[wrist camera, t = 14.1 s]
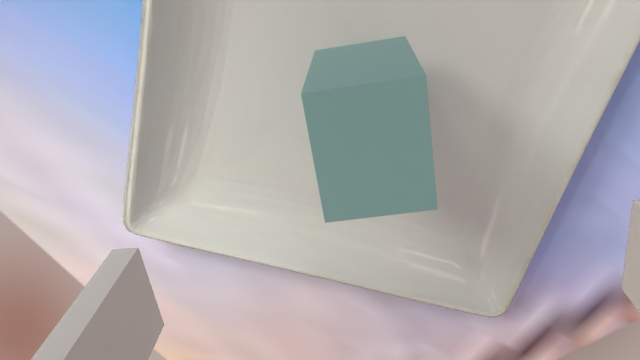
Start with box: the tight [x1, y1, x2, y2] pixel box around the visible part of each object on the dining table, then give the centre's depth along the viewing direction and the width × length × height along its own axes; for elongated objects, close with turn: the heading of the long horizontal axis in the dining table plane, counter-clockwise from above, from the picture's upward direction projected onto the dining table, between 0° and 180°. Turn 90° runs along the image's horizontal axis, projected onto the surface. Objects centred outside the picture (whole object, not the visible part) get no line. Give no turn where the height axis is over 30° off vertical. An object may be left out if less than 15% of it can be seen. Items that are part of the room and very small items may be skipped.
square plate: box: [123, 0, 640, 317], centre depth 32 cm, size 27×27×4 cm
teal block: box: [301, 36, 438, 223], centre depth 26 cm, size 5×6×9 cm
